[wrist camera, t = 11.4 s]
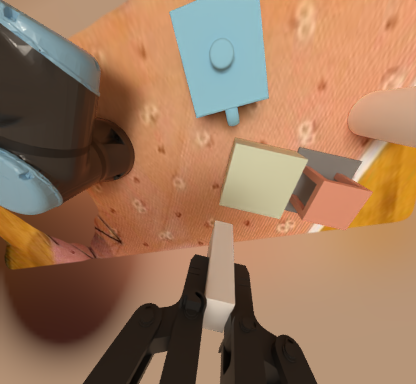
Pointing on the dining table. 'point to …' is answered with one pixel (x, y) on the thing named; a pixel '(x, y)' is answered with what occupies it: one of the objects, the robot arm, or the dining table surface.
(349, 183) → the stool
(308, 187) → the mat
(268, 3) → the dining table surface
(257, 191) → the step block
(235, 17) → the teapot
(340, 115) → the dining table surface
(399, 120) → the cup
